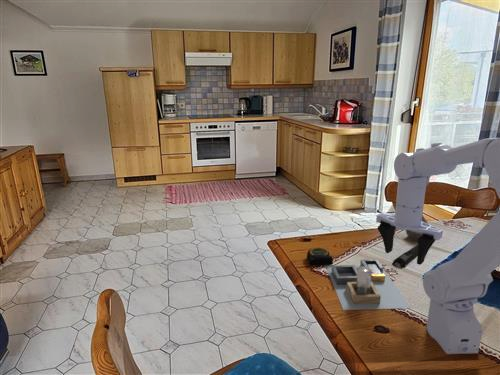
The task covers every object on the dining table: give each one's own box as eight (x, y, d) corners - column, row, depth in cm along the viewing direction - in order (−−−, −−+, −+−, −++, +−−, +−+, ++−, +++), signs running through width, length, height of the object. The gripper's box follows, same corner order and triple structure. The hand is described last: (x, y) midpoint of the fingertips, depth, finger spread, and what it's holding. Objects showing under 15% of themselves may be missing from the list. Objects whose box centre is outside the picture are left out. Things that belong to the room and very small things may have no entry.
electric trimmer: (425, 254, 101) (426, 245, 100) (402, 273, 91) (403, 263, 90) (413, 250, 103) (414, 241, 103) (389, 268, 94) (390, 258, 93)
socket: (388, 283, 85) (389, 276, 84) (336, 285, 85) (337, 278, 84) (376, 265, 93) (377, 259, 93) (329, 266, 94) (329, 260, 93)
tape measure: (309, 270, 95) (309, 258, 93) (305, 258, 101) (305, 247, 100) (332, 269, 95) (333, 257, 93) (327, 257, 101) (327, 246, 100)
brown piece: (380, 303, 77) (380, 296, 77) (353, 304, 77) (354, 297, 77) (371, 288, 83) (371, 281, 82) (346, 288, 83) (346, 281, 83)
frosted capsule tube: (372, 297, 79) (374, 272, 77) (361, 300, 78) (363, 274, 76) (364, 290, 82) (366, 265, 80) (353, 292, 81) (354, 268, 79)
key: (384, 281, 86) (385, 275, 85) (372, 281, 86) (372, 276, 85) (376, 269, 91) (377, 264, 91) (365, 269, 91) (365, 264, 91)
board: (410, 311, 75) (411, 308, 75) (343, 313, 76) (343, 309, 76) (380, 268, 94) (380, 265, 93) (325, 269, 94) (326, 266, 94)
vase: (400, 236, 113) (402, 212, 110) (416, 232, 115) (419, 209, 112) (415, 244, 106) (418, 219, 104) (432, 240, 108) (435, 216, 106)
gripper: (371, 201, 78) (367, 252, 82) (436, 217, 67) (428, 275, 71) (386, 194, 82) (382, 243, 86) (449, 208, 72) (441, 263, 76)
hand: (403, 257), depth 79 cm, fingers open, 7 cm apart
